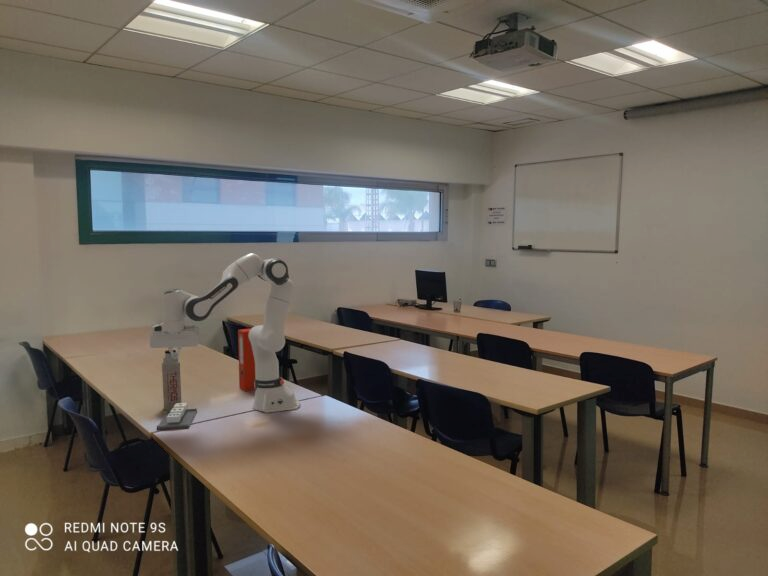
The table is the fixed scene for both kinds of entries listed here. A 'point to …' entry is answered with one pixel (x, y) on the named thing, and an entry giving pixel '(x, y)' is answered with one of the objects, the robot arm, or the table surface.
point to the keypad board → (182, 424)
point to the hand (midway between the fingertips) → (175, 357)
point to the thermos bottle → (171, 380)
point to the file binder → (246, 361)
